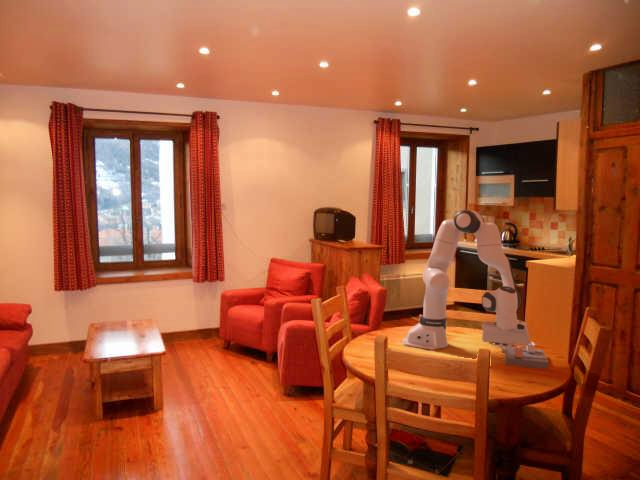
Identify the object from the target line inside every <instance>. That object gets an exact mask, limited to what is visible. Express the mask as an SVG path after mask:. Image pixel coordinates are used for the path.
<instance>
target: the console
mask: <svg viewBox="0 0 640 480" xmlns="http://www.w3.org/2000/svg"><path fill="white" fill-rule="evenodd" d="M504 348H506V349H507V348H508V346H507V345H506V346H504ZM522 349H523V357H522V358H521V357H515V354H514V350H515V346H514V347H513V346H511V348H510V349H509V353H504V358H505V364H506V363H507V364H506V366H512V367H513V366H514V367H515V366H516V367H526V368H533V369H534V368H535V369H545V370H548V369H549V360H548V358H547V356H546V353H545V351H544V350H543V349H537V348H535V353H531V352H527V349H526V347H522Z"/></svg>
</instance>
